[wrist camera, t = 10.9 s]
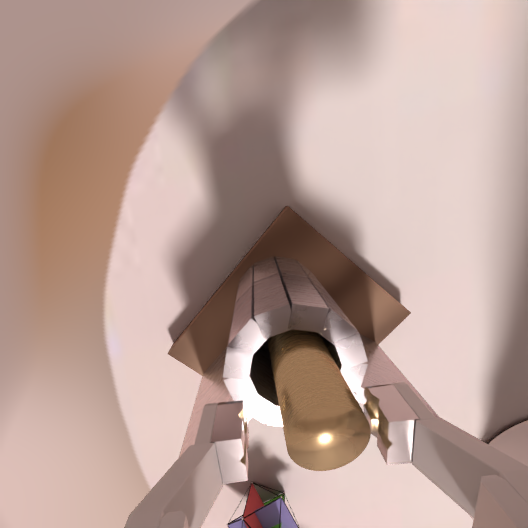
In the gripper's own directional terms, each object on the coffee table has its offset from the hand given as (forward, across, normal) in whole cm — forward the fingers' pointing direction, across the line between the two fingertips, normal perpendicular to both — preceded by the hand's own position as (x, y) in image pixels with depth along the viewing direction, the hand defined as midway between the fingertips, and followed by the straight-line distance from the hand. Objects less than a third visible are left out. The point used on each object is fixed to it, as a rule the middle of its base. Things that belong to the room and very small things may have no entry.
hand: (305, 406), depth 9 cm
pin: (+11, 0, 0) cm, 11 cm away
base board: (+12, -1, +4) cm, 13 cm away
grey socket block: (+11, 0, +5) cm, 12 cm away
